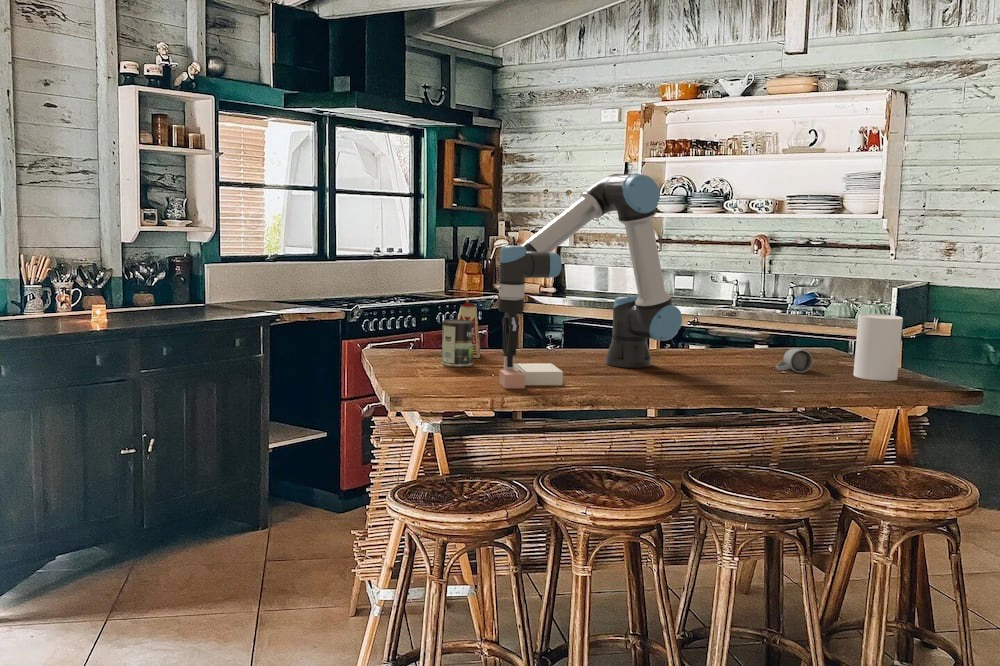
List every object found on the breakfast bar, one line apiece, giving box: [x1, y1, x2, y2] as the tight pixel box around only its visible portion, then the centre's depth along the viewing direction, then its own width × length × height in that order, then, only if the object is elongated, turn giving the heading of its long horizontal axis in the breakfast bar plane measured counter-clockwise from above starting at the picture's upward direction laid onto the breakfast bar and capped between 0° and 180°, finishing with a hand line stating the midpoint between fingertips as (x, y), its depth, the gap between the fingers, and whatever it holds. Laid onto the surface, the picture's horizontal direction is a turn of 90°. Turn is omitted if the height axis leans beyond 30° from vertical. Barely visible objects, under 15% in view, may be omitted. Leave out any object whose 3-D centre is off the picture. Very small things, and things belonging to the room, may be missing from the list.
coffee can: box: [441, 318, 474, 367], centre depth 321 cm, size 10×10×14 cm
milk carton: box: [457, 298, 481, 359], centre depth 338 cm, size 9×9×20 cm
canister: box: [853, 313, 904, 382], centre depth 322 cm, size 14×14×20 cm
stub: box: [498, 369, 526, 389], centre depth 288 cm, size 6×8×4 cm
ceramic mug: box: [775, 347, 813, 374], centre depth 329 cm, size 11×8×8 cm
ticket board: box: [514, 362, 564, 386], centre depth 297 cm, size 12×14×4 cm
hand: (508, 377), depth 292 cm, fingers closed
